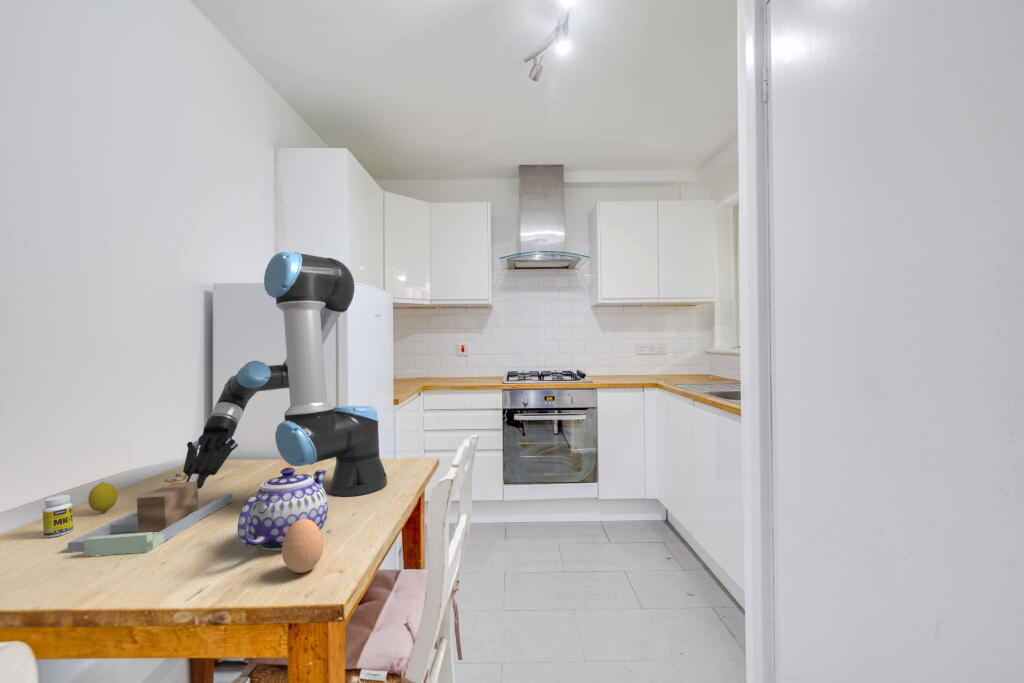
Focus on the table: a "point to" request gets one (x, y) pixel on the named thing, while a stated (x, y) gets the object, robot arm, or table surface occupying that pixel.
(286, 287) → the robot arm
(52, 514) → the supplement bottle
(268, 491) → the teapot
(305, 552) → the egg
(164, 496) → the walnut block
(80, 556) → the table surface
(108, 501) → the lemon
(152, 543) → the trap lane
